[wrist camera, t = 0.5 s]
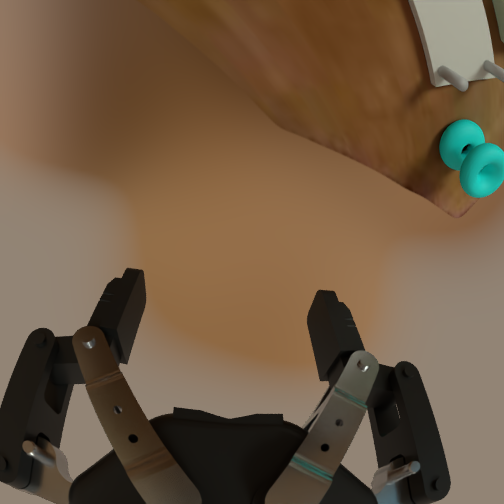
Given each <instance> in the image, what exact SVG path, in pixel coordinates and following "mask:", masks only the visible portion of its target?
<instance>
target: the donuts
mask: <svg viewBox="0 0 504 504" xmlns="http://www.w3.org/2000/svg"><path fill="white" fill-rule="evenodd" d="M467 144H469V145H468V147H467V149H466V150H465V151H463V152H462V149H463V148H464V147H465V146H466V145H467ZM439 149H440V155H441V158H442V160H443V161H444V163H445V164H446V165H447V166H448V167H450V168H452V169H454V170H460V183H461V186H462V188H463V190H464V191H465V192H466V193H467V194H468V195H470V196H472V197H476V198H481V197H485V196H488V195H490V194H491V193H493V192H494V191H495V190H496V189H497V188H498V187H499V186H500V185H501V183H502V182H503V180H504V152H503V151H502V149H501V148H500V147H498V146H497V145H495V144H492V143H485V139H484V135H483V132H482V130H481V129H480V127H479V126H478V125H477V124H476V123H474V122H473V121H470V120H458V121H455V122H453V123H452V124H451V125H449V126H448V127H447V128H446V130H445V131H444V133H443V135H442V137H441V140H440V145H439ZM482 168H483V169H482ZM481 169H482V170H481Z"/></svg>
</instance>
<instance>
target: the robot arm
mask: <svg viewBox="0 0 504 504" xmlns="http://www.w3.org/2000/svg"><path fill="white" fill-rule="evenodd" d="M145 304H146V289H145V279H144V272H143V270H139V269H132V268H127V269H126V270H125V272H124V274H123V276H122V278H114V279H113V280H112V281H111V282H109V283H108V284H107V286H106V288H105V290H104V292H103V294H102V296H101V298H100V301H99V302H98V304H97V306H96V308H95V310H94V312H93V314H92V316H91V319H90V321H89V323H88V325H87V326H85V327H82V328H80V329H79V330H77V331H76V333H75V334H74V335H73V336H63V337H55V336H54V334H53V332H52V331H51V330H49V329H47V328H39V329H36V330H34V331H33V332H32V333H31V334H30V335H29V336H28V338H27V340H26V343H25V345H24V347H23V349H22V351H21V354H20V356H19V358H18V361H17V363H16V366H15V368H14V371H13V373H12V376H11V378H10V381H9V384H8V387H7V389H6V392H5V395H4V398H3V401H2V404H1V408H0V481H1V482H3V483H5V484H8V485H10V486H12V487H13V488H15V489H18V490H21V491H23V492H26V493H29V494H33V495H37V496H39V497H42V498H44V499H46V500H48V501H51V502H53V503H56V504H430V503H433V502H436V501H439V500H441V499H442V498H444V497H445V496H446V495H447V494H448V492H449V490H450V485H451V481H450V475H449V471H448V467H447V462H446V458H445V454H444V450H443V446H442V442H441V439H440V435H439V431H438V428H437V424H436V421H435V418H434V415H433V411H432V408H431V405H430V402H429V399H428V396H427V393H426V391H425V388H424V385H423V382H422V379H421V377H420V374H419V371H418V370H417V368H416V367H415V366H414V365H413V364H411V363H410V362H406V361H401V362H399V363H398V364H397V365H396V366H395V367H389V366H386V365H382V364H379V363H378V361H377V359H376V358H375V357H374V356H373V355H372V354H371V353H369V352H366V351H365V349H364V346H363V343H362V340H361V338H360V335H359V333H358V330H357V327H355V326H356V325H355V322H354V321H353V317H352V315H351V312H350V310H349V309H348V308H347V306H346V305H345V304H344V303H343V302H339V301H338V298H337V296H336V293H335V292H334V291H327V290H318V291H317V293H316V295H315V298H314V300H313V303H312V305H311V308H310V310H309V312H308V316H307V325H308V330H309V334H310V338H311V343H312V347H313V351H314V356H315V360H316V365H317V369H318V374H319V379H320V381H329V385H330V386H329V387H328V388H327V390H326V392H325V393H324V395H323V397H322V398H321V400H320V401H319V403H318V405H317V406H316V408H315V410H314V411H313V413H312V414H311V416H310V417H309V419H308V420H307V421H306V423H305V424H304V425H303V427H302V428H301V427H299V426H298V425H295V424H293V423H290V422H287V421H284V420H283V414H254V415H249V416H244V417H238V418H232V419H227V418H224V417H220V416H216V415H214V414H210V413H207V412H204V411H201V410H193V409H185V408H177V407H174V411H173V413H172V414H165V415H161V416H158V417H155V418H153V419H151V420H149V421H148V419H147V418H146V416H145V414H144V413H143V411H142V409H141V407H140V405H139V404H138V402H137V400H136V398H135V397H134V395H133V393H132V391H131V389H130V387H129V385H128V383H127V381H126V379H125V378H124V376H123V374H122V372H121V371H120V369H119V364H120V363H123V364H127V363H128V360H129V356H130V353H131V350H132V346H133V343H134V340H135V337H136V333H137V330H138V327H139V324H140V321H141V317H142V315H143V312H144V308H145ZM74 384H86V390H87V393H88V395H89V398H90V400H91V402H92V405H93V407H94V409H95V412H96V414H97V416H98V418H99V421H100V423H101V425H102V427H103V429H104V431H105V433H106V435H107V437H108V439H109V441H110V443H111V445H112V447H113V450H111V451H110V452H109V453H108V454H106V455H105V456H104V457H103V458H101V459H100V460H99V461H98V462H96V463H95V464H94V465H92V466H91V467H90V468H88V469H87V470H86V471H84V472H83V473H82V474H80V475H79V476H78V477H77V478H76V479H75V480H74V481H73V480H72V479H71V477H70V475H69V472H68V462H67V459H66V457H65V455H64V453H63V452H62V451H61V450H59V447H60V442H61V437H62V431H63V427H64V422H65V417H66V413H67V409H68V405H69V401H70V397H71V393H72V390H73V386H74ZM396 404H397V407H396ZM397 408H398V410H397ZM366 410H368V414H369V419H370V423H371V429H372V434H373V439H374V445H375V450H376V456H377V462H378V468H379V469H378V470H377V471H376V472H375V474H374V477H373V481H372V483H371V485H372V489H370V488H368V487H367V486H366V485H365V484H364V483H363V482H361V481H360V480H359V479H358V478H357V477H355V476H354V475H353V474H352V473H351V472H350V471H349V470H347V469H346V468H345V467H344V466H343V465H342V464H341V461H342V459H343V458H344V456H345V454H346V452H347V450H348V448H349V446H350V444H351V442H352V440H353V438H354V436H355V434H356V432H357V430H358V428H359V425H360V424H361V421H362V419H363V417H364V415H365V413H366ZM398 411H399V414H398ZM399 416H400V418H399Z"/></svg>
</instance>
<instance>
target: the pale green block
mask: <svg viewBox="0 0 504 504" xmlns="http://www.w3.org/2000/svg"><path fill="white" fill-rule="evenodd" d="M492 2H493V6H494V10H495V14H496V18H497V23H498V28H499V33H500V39H501V41H502V42H504V0H492Z"/></svg>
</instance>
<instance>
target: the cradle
mask: <svg viewBox="0 0 504 504" xmlns="http://www.w3.org/2000/svg"><path fill="white" fill-rule="evenodd" d="M408 2H409V4H410V7H411V10H412V13H413V16H414V19H415V22H416V25H417V28H418V31H419V35H420V38H421V42H422V45H423V49H424V53H425V57H426V61H427V66H428V70H429V75H430V80H431V84H433V85H434V86H435V87H439V86H444V85H449V84H452V85H453V86H455V87H456V88H457V89H459V90H460V91H466V90H467V88H468V81H474V80H481V79H489V78H498V79H499V80H501V81H502V82H504V69H502V68H501V67H499V66H497V65H496V64H494V56H493V49H492V43H491V37H490V32H489V27H488V22H487V18H486V13H485V9H484V6H483V2H482V0H408Z"/></svg>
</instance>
